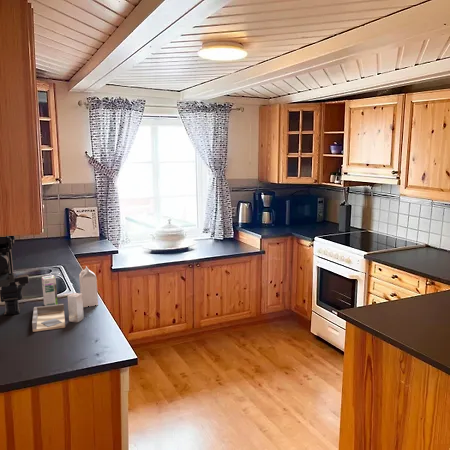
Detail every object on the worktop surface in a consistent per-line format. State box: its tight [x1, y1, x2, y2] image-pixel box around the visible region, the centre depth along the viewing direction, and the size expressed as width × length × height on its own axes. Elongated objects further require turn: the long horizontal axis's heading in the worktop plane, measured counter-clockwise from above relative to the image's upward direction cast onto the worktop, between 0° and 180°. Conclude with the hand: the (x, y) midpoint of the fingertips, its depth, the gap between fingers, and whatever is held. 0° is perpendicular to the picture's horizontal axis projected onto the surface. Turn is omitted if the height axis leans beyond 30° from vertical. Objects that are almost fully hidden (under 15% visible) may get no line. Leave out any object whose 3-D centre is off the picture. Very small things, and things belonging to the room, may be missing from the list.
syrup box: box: [41, 274, 59, 306], centre depth 224 cm, size 6×6×14 cm
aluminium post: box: [67, 292, 85, 323], centre depth 205 cm, size 4×4×12 cm
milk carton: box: [78, 265, 99, 308], centre depth 224 cm, size 7×7×19 cm
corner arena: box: [31, 303, 66, 332], centre depth 204 cm, size 20×13×4 cm, turn 20°
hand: (6, 301), depth 188 cm, fingers open, 9 cm apart
